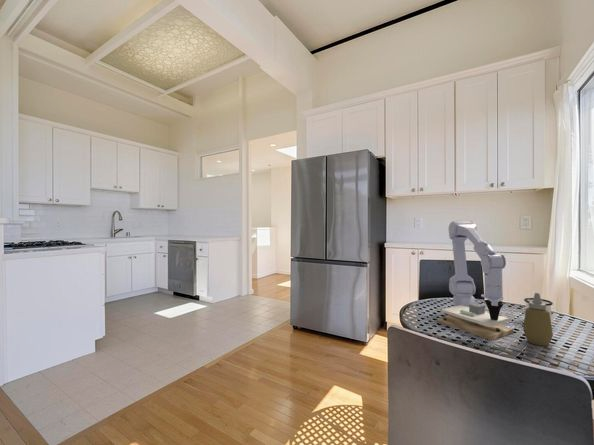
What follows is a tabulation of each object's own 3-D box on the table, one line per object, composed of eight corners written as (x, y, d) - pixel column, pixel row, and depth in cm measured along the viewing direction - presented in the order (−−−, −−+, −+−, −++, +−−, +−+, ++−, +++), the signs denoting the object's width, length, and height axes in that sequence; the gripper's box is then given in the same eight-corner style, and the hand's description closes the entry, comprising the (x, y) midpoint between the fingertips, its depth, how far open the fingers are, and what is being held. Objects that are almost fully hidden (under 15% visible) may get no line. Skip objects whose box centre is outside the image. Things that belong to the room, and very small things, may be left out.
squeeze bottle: (517, 338, 103) (516, 290, 103) (537, 337, 104) (536, 289, 104) (538, 348, 95) (537, 296, 95) (559, 347, 96) (558, 295, 96)
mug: (534, 316, 126) (534, 297, 126) (559, 324, 117) (558, 302, 117) (514, 319, 123) (514, 299, 123) (537, 327, 114) (537, 305, 114)
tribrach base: (459, 316, 129) (459, 307, 129) (513, 332, 109) (513, 322, 109) (437, 321, 122) (437, 312, 122) (490, 340, 102) (490, 329, 102)
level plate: (460, 307, 127) (460, 298, 127) (508, 321, 109) (508, 310, 109) (441, 312, 122) (440, 302, 122) (489, 327, 104) (488, 315, 104)
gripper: (480, 280, 117) (481, 312, 116) (481, 287, 104) (482, 323, 104) (501, 282, 113) (502, 315, 113) (504, 289, 101) (505, 327, 100)
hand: (494, 319), depth 108 cm, fingers closed, pressing on level plate
